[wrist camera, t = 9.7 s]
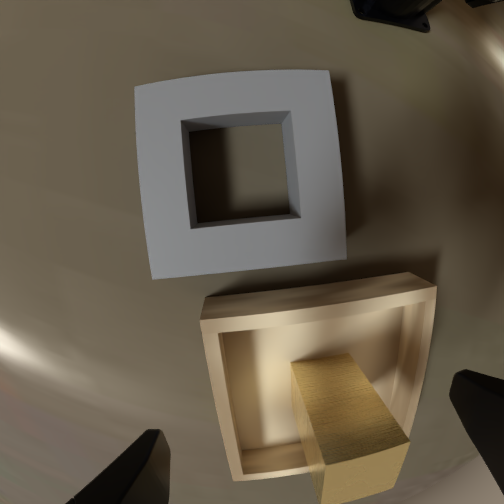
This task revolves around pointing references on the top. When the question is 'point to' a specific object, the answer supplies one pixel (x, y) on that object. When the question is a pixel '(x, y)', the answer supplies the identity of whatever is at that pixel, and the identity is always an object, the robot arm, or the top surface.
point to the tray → (310, 347)
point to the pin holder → (231, 115)
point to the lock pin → (345, 430)
